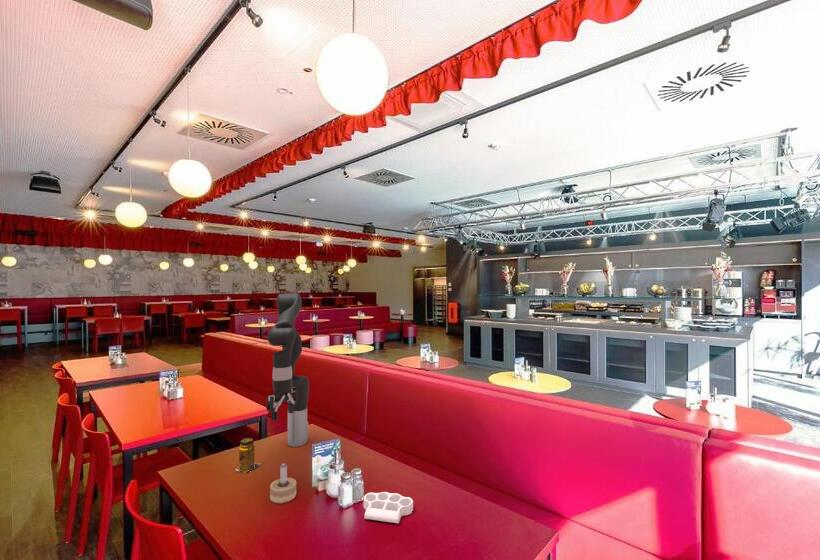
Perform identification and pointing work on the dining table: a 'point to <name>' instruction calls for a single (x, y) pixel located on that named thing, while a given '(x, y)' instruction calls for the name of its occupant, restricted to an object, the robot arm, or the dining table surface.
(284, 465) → the white rod
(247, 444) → the condiment
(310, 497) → the dining table surface
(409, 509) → the white compartment tray
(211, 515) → the dining table surface
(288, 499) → the bead
